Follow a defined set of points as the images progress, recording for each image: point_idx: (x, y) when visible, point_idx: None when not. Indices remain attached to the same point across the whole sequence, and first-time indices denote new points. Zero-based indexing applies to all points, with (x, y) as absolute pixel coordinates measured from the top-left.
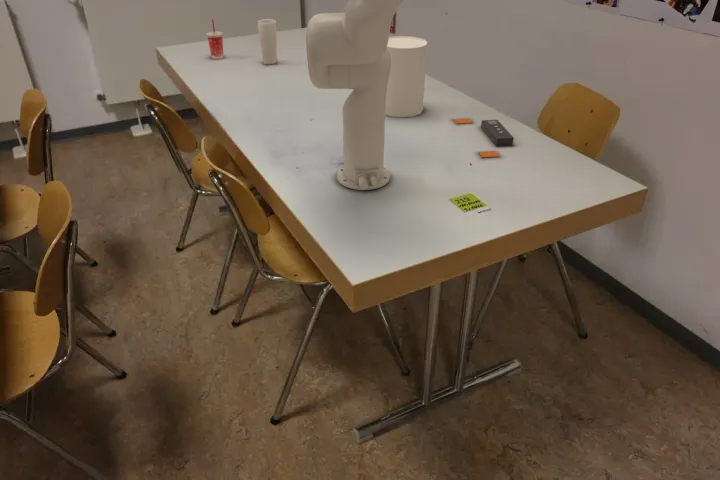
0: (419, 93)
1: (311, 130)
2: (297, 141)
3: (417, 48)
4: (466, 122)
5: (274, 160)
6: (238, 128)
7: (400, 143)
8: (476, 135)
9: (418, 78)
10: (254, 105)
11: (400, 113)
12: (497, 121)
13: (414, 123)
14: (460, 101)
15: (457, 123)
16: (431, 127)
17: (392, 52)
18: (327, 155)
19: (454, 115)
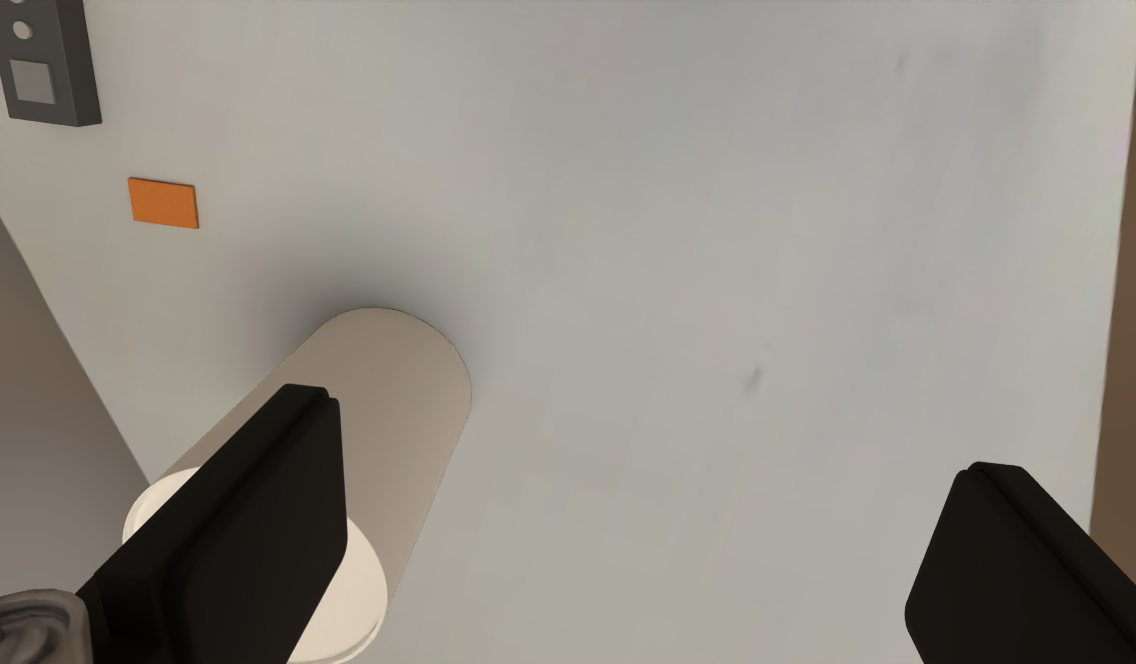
0: (289, 357)
1: (787, 282)
2: (881, 188)
3: (191, 465)
4: (151, 182)
5: (1051, 12)
6: (1058, 377)
7: (469, 49)
8: (132, 46)
9: (264, 385)
10: (914, 561)
11: (400, 318)
12: (10, 95)
13: (363, 239)
14: (142, 397)
15: (190, 186)
16: (303, 181)
17: (345, 487)
18: (811, 4)
19: (188, 274)
